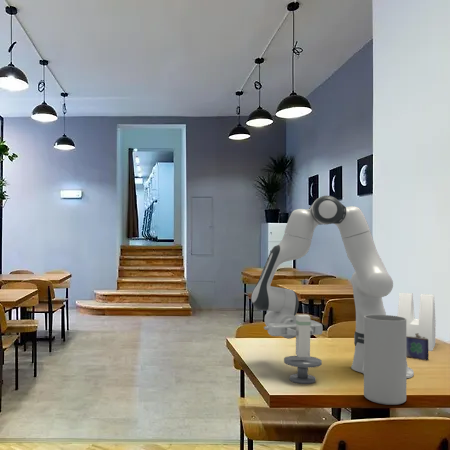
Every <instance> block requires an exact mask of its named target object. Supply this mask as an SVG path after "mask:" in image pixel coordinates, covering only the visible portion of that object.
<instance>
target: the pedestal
mask: <svg viewBox="0 0 450 450" xmlns="http://www.w3.org/2000/svg"><path fill="white" fill-rule="evenodd" d="M283 363H284V364H286V365H287V366H291V367H295V368H297V371H296V372H297V373H293V374H291V375H290V376H289V381H290V382H292V383H295V384H301V385H309V384H314V383H316V382H317V381H316V377H315V376H314V375H312V374H309V368H310V369H311V368H318V367H321V366H322V365H323V364H322V360H321V359H320V358H318V357H315V356H310V357H298V356H297V355H290V356H285V357H284V358H283Z"/></svg>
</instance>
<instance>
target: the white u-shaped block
mask: <svg viewBox="0 0 450 450" xmlns="http://www.w3.org/2000/svg"><path fill="white" fill-rule="evenodd" d="M398 296H399V297H398V307H397V315H396V316H398V317H403V318H406V336H413V337H416V335H415V334H416V333H419V334H418V335H420V336H421V337H422V338H423V337H425V338H427V339H428V352H433V349H434V348H435V346H436V309H435V308H436V306H435V294H429V293H428V294H427V293H420V299H419V312H418V318H415V317H416V316H415V307H414V294H413V293H412V292H399V295H398Z"/></svg>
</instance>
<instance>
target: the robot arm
mask: <svg viewBox="0 0 450 450" xmlns="http://www.w3.org/2000/svg"><path fill="white" fill-rule="evenodd" d="M331 224H334V225H335V226H336V227H337V229H338V230H339V232H340V235H341V236H340V237H341V240H342V242H343V246H344V247H343V248H344V250H345V252H346V256H347V259H348V260H349V262H350V263H351V265H352V267H353V269H354V272H353V273H352V275H351V278H350V281H351V285H352V293H353V301H354V306H355V331H354V336H353V337H354V338H353V339H354V340H353V341H354V342H353V343H354V346H355V347H354V353H353V359H352V363H351V367H350V368H351V369H352V370H353V371H356V372H359V373H362V374H363V375H364V316H366V315H387V314H386V313H387V312H386V309H385V307H384V302H383V298H384V297H386V296H388V295H389V294H390V293H391V292H392V290H393V287H394V281H393V278H392V277H391V275H390V274H389V272H388V271H387V268H386V267H385V264H384V261H383V260H382V258H381V256H380V255H379V253H378V251H377V248H376V245H375V242H374V238H373V236H372V232H371V229H370V226H369V224H368V221H367V219H366V217H365V214H364V213H363V211H362V210H361V209H360V208H359V207H358V206H354V205H353V206H351V205H350V206H346V205H344V204H343V203H342V202H340V200H338V199H337V198H336V197H334V196H332V195H323V196H320V197H318V198H316V199H315V200H314V202H313V203H312V204H311V205H310V207H308V209H307V208H306V209H304V208H298V209H294V210H293V211H292V212H291V213H290V216H289V217H288V219H287V223H286V226H285V229H284V233H283V237H282V238H281V240H280V242H279V243H278V244H276V245H275V246H273V247H272V249H271V250H270V253H269V254H268V257H267V260H266V262H265V264H264V267H263V269H262V270H261V274H260V276H259V279H258V281H257V283H256V284H255V287H254V288H253V291H252V293H251V297H250V299H251V302H250V303H252V305H253V307H254V308H255V309H256V310H257V311H265V312H266V311H267V313H266V314H265V315H264V319H263V320H264V324H265V326H263V329H264V330H266V331H267V333H268V335H269V336H271V337H283V338H284V339H289V340H290V339H291V340H292V339H294V338H296V336H298V330H296V315H297V313H298V309H299V306H300V305H299V304H300V302H299V297H298V295H297V293H296V292H295V290H293V289H289V288H285V287H276V286H272V285H271V284H272V281H273V279H274V276H275V275H276V271H277V269H278V267H280V265H281V264H284V263H286V262H289V261H294V260H299V259H301V258H303V257H305V256H306V255H307V254H308V252H309V250H310V248H311V245H312V240H313V236H314V232H315V229H316V228H317V226H318V225H320V226H321V225H326V226H327V225H331ZM310 322H311V325H310V336H314V335H315V336H316V335H319V336H320V335H322V334H323V329H324V328H323V324H322V323H320V322H319V321H315V320H314V319H313V320H312V319H310ZM414 375H415V374H414V369H412V367H409V365H408V361H407V359H406V379H411V378H412V377H413V376H414Z"/></svg>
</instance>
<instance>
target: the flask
mask: <svg viewBox="0 0 450 450" xmlns="http://www.w3.org/2000/svg"><path fill="white" fill-rule="evenodd" d="M418 334H419V333H416V334H415V335H416V337H413V336H406V358H409V359H415V360H422V361H429V357H430V355H429V351H428V339H427V338H425V337H423V338H422V337H421V336H420V335H418Z"/></svg>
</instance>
